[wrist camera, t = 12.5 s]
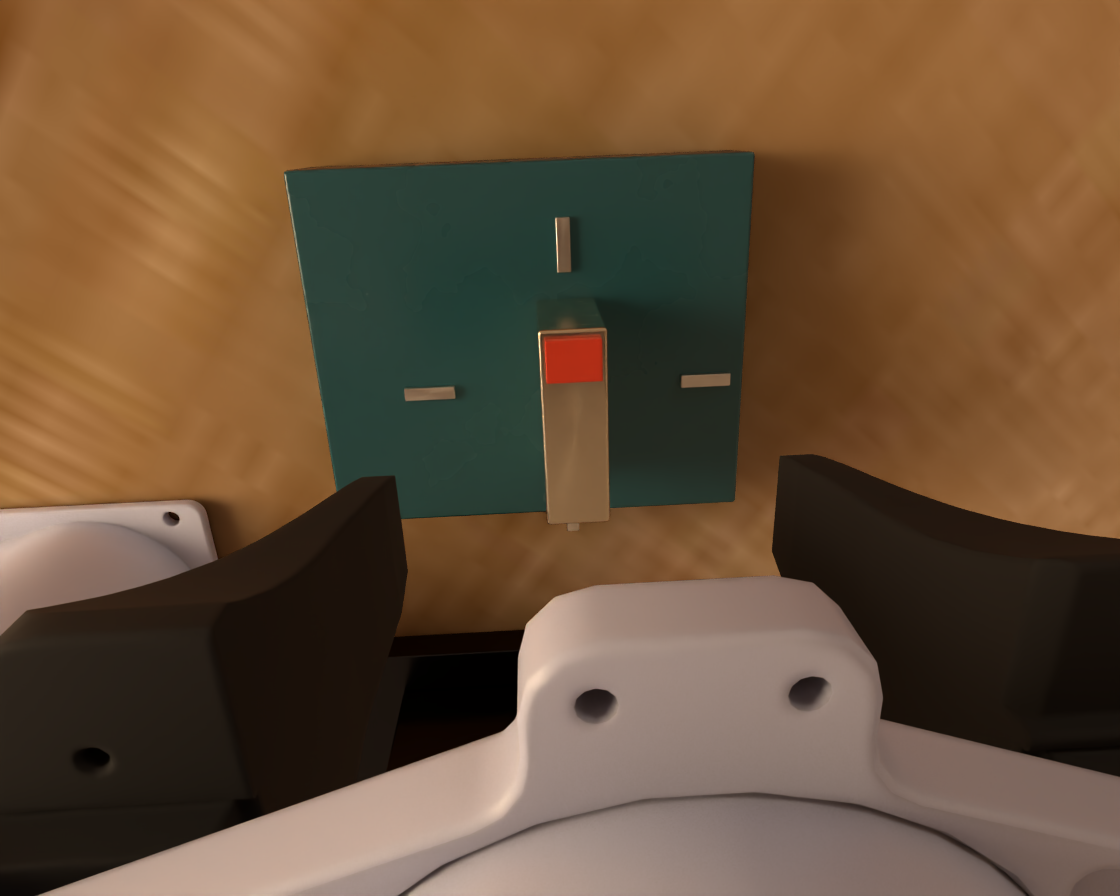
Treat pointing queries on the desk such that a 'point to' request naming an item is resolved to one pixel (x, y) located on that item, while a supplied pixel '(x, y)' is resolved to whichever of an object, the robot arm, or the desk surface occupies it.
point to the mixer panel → (525, 319)
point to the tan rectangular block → (574, 409)
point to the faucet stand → (440, 697)
